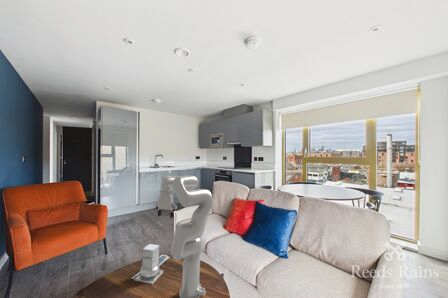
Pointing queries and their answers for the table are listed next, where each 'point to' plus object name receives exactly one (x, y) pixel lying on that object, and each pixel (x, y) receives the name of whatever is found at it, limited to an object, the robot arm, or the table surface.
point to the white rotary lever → (149, 275)
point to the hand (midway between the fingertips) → (165, 216)
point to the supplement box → (150, 257)
